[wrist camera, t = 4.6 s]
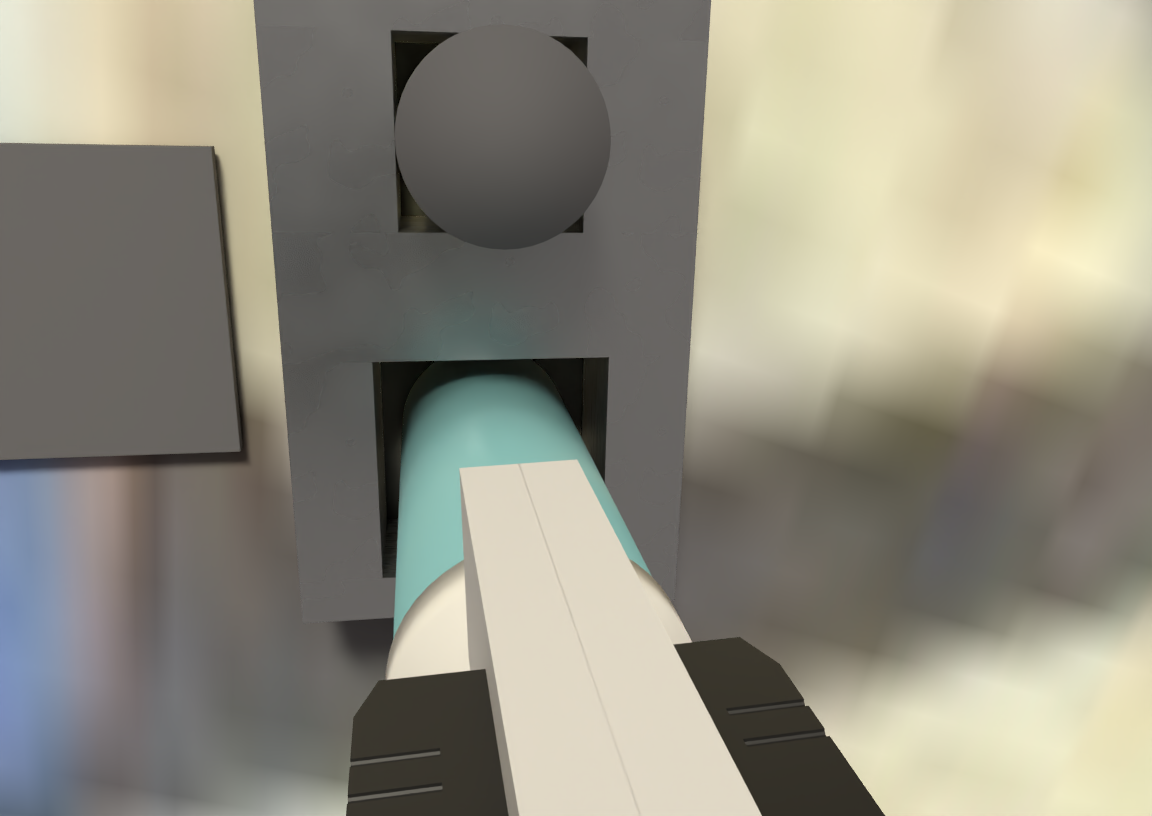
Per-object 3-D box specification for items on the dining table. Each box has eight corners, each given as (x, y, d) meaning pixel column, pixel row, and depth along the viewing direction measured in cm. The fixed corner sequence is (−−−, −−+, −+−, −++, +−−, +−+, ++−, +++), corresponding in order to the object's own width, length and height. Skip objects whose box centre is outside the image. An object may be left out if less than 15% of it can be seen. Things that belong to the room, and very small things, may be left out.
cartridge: (402, 505, 30) (388, 910, 15) (395, 344, 28) (373, 614, 13) (565, 497, 31) (710, 873, 16) (568, 341, 29) (735, 590, 14)
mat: (-76, 457, 27) (-83, 462, 27) (-142, 140, 24) (-151, 141, 24) (242, 446, 29) (240, 451, 28) (214, 146, 26) (210, 147, 25)
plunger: (403, 214, 27) (398, 249, 20) (397, 44, 25) (389, 19, 18) (561, 215, 27) (607, 249, 21) (563, 49, 26) (614, 28, 19)
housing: (644, 542, 32) (674, 599, 28) (317, 559, 30) (302, 623, 26) (670, 10, 27) (711, -6, 23) (277, -6, 25) (251, -27, 21)
